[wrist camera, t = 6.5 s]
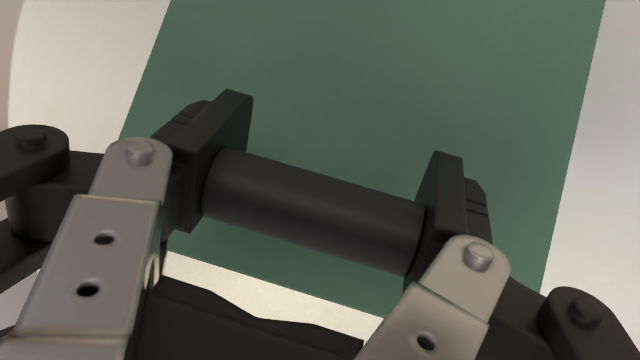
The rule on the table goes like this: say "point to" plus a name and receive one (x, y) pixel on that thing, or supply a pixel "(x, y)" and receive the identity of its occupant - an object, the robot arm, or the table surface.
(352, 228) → the lid
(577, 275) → the table surface
